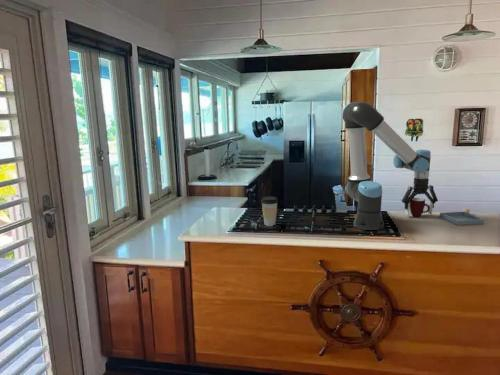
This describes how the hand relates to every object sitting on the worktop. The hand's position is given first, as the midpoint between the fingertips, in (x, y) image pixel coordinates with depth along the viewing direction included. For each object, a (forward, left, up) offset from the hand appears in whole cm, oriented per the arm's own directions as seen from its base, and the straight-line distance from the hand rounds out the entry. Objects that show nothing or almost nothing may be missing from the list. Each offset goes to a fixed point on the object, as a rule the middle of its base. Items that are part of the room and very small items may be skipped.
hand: (418, 214), depth 214 cm
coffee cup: (-86, -1, -1) cm, 86 cm away
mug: (0, 0, -1) cm, 1 cm away
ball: (+28, -1, -1) cm, 28 cm away
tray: (+18, -11, -1) cm, 21 cm away
